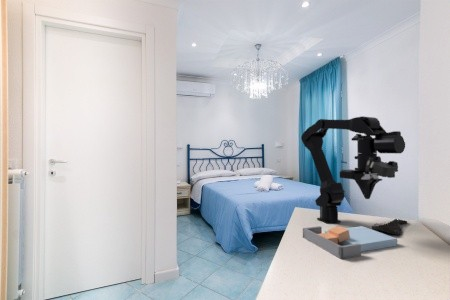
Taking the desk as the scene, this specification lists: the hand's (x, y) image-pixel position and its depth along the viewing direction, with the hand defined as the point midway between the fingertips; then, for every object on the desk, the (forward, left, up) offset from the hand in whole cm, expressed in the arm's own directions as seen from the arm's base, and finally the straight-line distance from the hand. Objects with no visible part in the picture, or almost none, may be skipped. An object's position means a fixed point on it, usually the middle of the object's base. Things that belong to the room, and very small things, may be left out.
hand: (367, 198), depth 78 cm
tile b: (+4, -20, -12) cm, 24 cm away
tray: (+4, -20, -12) cm, 23 cm away
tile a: (+4, -16, -10) cm, 19 cm away
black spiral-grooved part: (-2, +15, -13) cm, 20 cm away
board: (+4, -8, -12) cm, 15 cm away
